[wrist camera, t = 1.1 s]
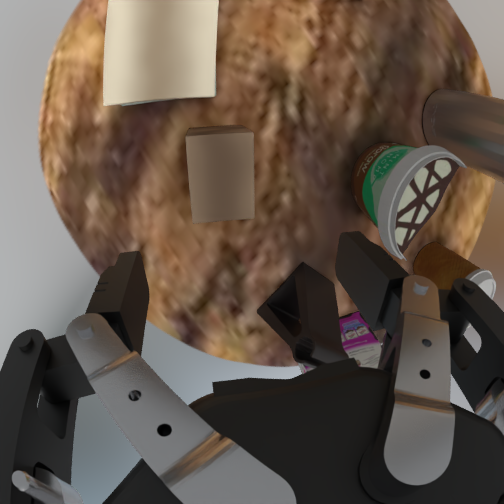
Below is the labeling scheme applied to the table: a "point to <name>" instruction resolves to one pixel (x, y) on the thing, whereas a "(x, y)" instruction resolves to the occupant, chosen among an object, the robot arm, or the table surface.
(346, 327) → the candy bar box
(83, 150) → the table surface
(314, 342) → the phone stand
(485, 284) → the disposable coffee cup
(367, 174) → the food container
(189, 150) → the walnut block
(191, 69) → the slab top
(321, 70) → the table surface
